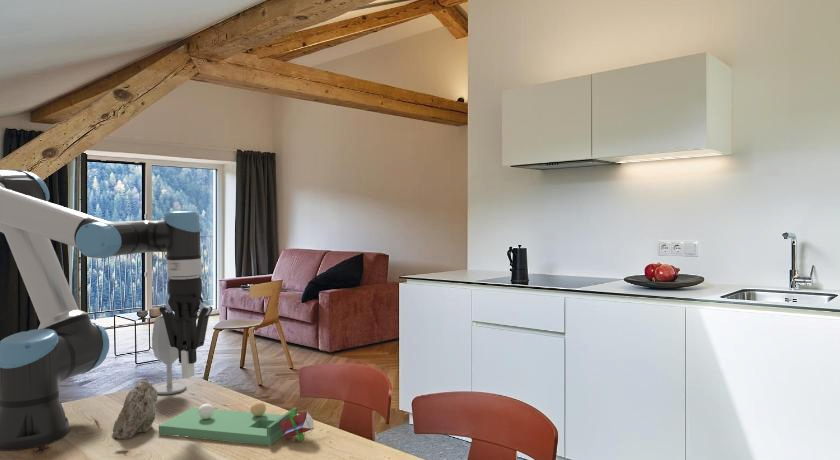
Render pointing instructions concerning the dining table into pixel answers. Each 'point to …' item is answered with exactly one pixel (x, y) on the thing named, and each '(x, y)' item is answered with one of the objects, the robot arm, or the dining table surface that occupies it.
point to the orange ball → (258, 408)
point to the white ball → (206, 411)
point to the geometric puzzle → (297, 425)
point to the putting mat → (227, 426)
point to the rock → (136, 411)
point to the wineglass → (165, 356)
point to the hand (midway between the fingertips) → (188, 376)
